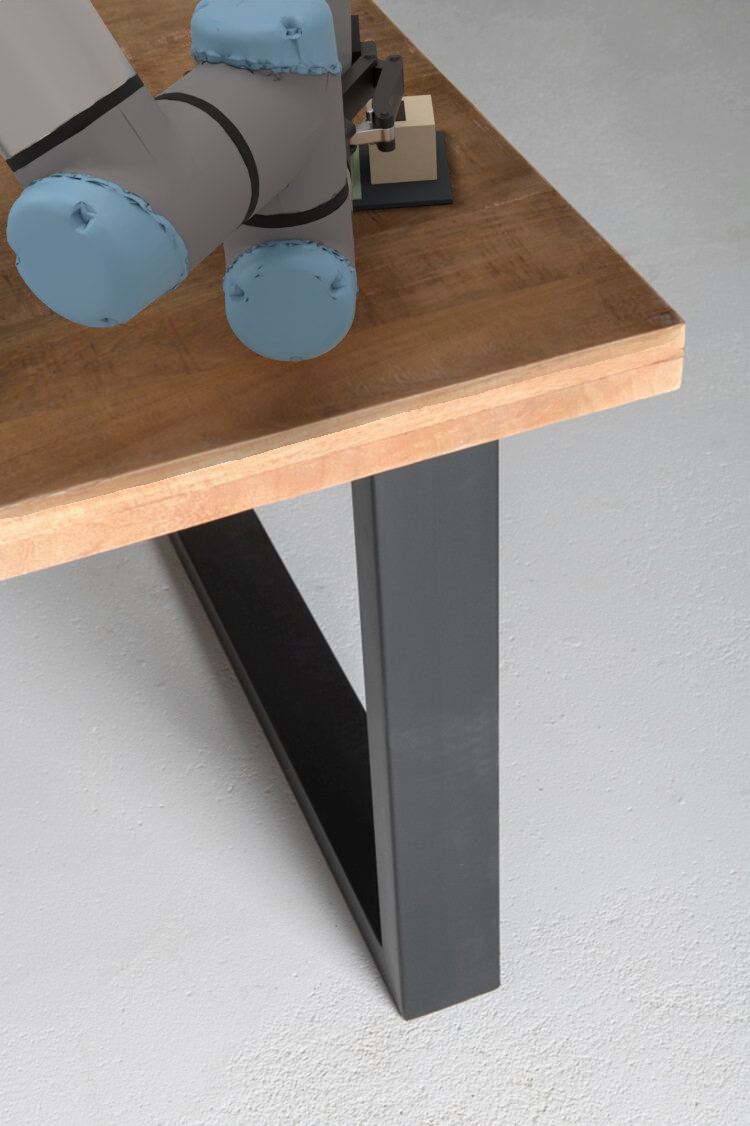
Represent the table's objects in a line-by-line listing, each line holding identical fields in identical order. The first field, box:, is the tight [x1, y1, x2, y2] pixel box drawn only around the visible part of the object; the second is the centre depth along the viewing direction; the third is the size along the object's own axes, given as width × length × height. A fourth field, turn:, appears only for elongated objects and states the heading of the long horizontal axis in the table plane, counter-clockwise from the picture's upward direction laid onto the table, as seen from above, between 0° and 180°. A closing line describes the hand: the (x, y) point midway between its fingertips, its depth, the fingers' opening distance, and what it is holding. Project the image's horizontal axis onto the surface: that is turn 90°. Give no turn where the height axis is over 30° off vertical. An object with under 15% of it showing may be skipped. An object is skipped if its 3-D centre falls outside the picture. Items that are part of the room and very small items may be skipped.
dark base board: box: [352, 94, 454, 211], centre depth 108 cm, size 22×11×5 cm, turn 92°
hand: (295, 37), depth 106 cm, fingers open, 8 cm apart
